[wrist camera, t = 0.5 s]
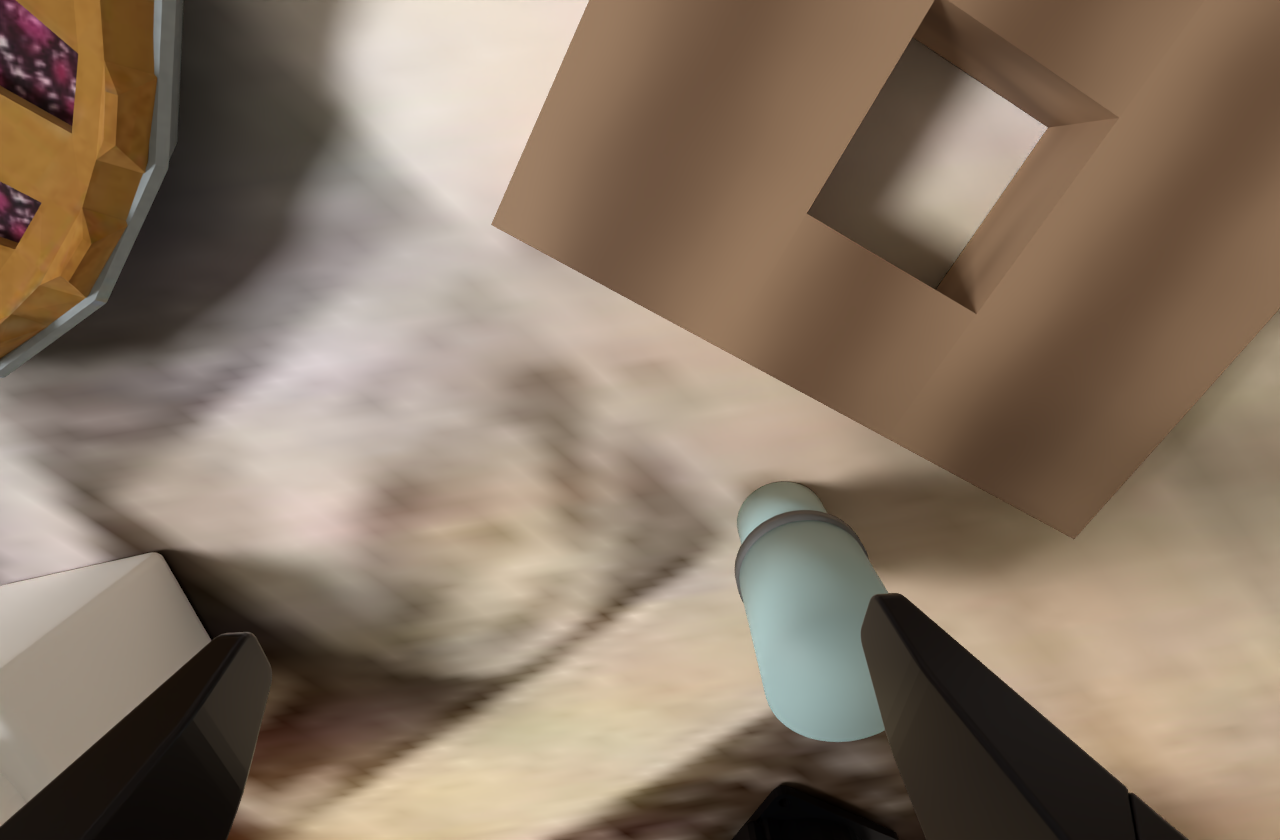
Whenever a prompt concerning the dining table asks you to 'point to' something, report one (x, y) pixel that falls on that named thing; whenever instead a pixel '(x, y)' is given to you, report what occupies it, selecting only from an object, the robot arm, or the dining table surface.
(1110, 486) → the socket board
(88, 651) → the medicine bottle
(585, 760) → the dining table surface
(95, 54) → the pie
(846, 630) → the stepped peg
